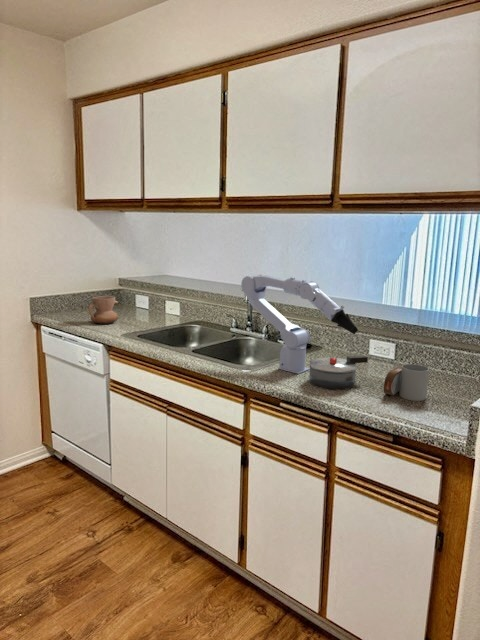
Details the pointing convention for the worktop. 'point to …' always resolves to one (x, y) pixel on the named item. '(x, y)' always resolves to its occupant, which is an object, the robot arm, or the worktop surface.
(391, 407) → the worktop surface
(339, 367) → the lid
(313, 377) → the cooker pot
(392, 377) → the tin
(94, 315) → the ceramic jug
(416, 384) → the cup
